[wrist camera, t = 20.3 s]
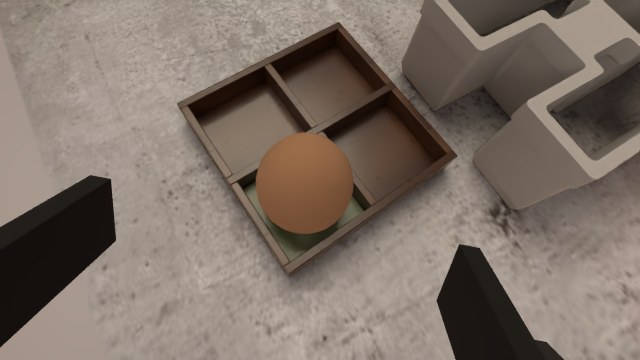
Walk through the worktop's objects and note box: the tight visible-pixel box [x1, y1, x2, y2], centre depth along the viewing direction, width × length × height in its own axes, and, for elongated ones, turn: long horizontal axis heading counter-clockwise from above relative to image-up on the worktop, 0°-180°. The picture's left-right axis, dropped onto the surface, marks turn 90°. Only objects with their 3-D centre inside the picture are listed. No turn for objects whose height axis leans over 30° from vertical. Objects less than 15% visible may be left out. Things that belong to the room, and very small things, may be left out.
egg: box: [256, 133, 353, 234], centre depth 23 cm, size 6×6×8 cm
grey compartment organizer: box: [402, 0, 640, 210], centre depth 30 cm, size 17×28×9 cm, turn 121°
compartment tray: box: [177, 22, 457, 277], centre depth 28 cm, size 16×16×3 cm
